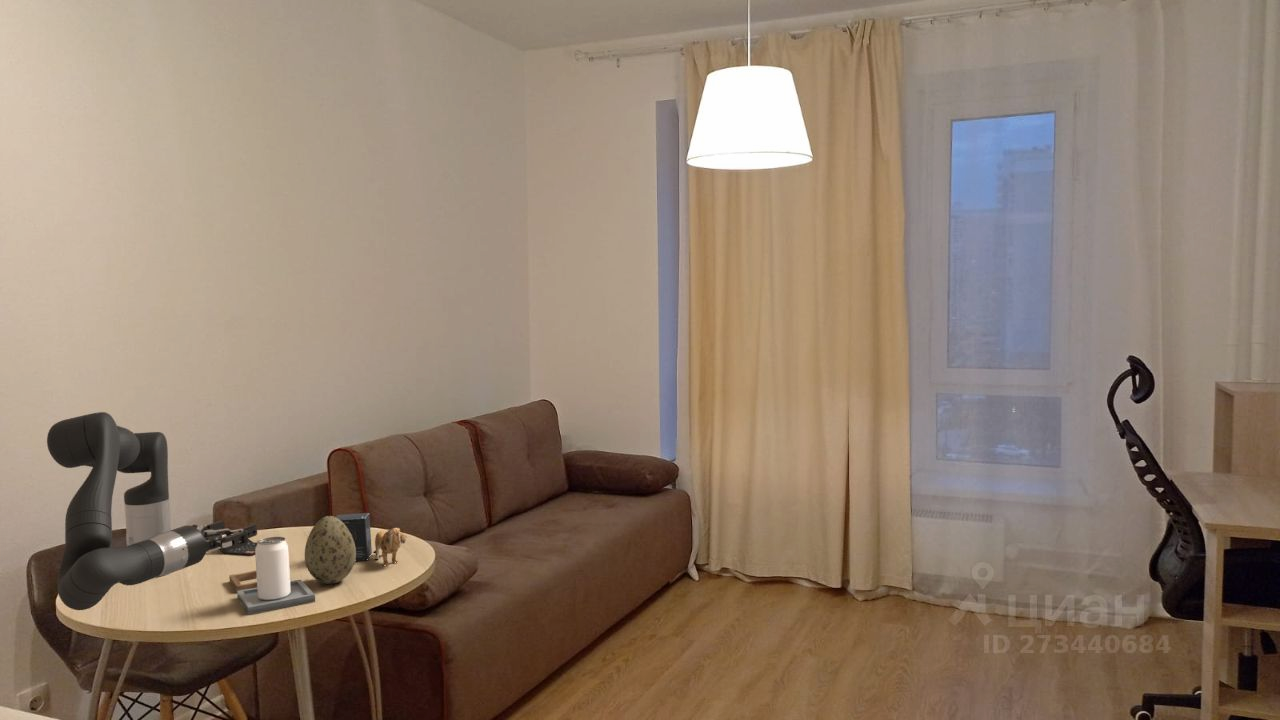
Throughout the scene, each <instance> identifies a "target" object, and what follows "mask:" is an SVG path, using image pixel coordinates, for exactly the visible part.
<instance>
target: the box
mask: <svg viewBox="0 0 1280 720" xmlns="http://www.w3.org/2000/svg"><path fill="white" fill-rule="evenodd" d="M335 517H336V518H338V519H339V520H341V521H342V522H343V523H344V524H345V526H346V527H347V528H348V530H349V531H350V533H351V535H352V537H353V540H354V543H355V548H356V559H355V560H364V561H368V560H369V559H370V558H369V556H370V555H371V554H372V553H373V552H372V551H373V549H372V548H373V547H372V534H371V532H372V531H371V518H370V513H369V512H365V513H348V514H337V515H336V516H335ZM371 556H372V555H371ZM371 556H370V557H371ZM368 558H369V559H368ZM367 559H368V560H367Z"/></svg>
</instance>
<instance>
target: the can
mask: <svg viewBox="0 0 1280 720" xmlns="http://www.w3.org/2000/svg"><path fill="white" fill-rule="evenodd" d="M256 543H257V546H256V549H255V555H254V556H255V571H256V574H257V578H256V582H257V590H258V597H259V598H260V599H261V600H266V601H270V600H278V599H282V598H285V597H287V596H288V595H289V594H290V592H291V587H290V581H291V572H290V571H291V570H290V555H289V554H290V553H289V545H288V543H287V542H286V537H284V536H270V537H264V538H261V539H258V540H257V541H256Z"/></svg>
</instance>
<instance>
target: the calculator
mask: <svg viewBox="0 0 1280 720" xmlns="http://www.w3.org/2000/svg"><path fill="white" fill-rule="evenodd" d="M248 541H249V543H248V544H246V545H243V546H240V547H237V548H235V549H232V550H229V551H226V552H222V551H221V548H220V549H217V550H218V551H220V552H221V553H223V554H224V555H228V556H243V557H244V556H245V557H253V556H255V549H256V546H257V541H256V542H254V541H252V540H251V539H250V538H248Z"/></svg>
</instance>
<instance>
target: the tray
mask: <svg viewBox="0 0 1280 720" xmlns="http://www.w3.org/2000/svg"><path fill="white" fill-rule="evenodd" d="M290 587H291V592H290V594H289V595H288V596H287V597H285V598H282V599H278V600H270V601H266V600H261V599H260V598H259V597H258V590H257V587H256V588H251V589H246V590H240V591H237V592H236V594H237V596H236V597H237V600H238V601H239V602H240V603H241V606H242V607H243V609H244V610H245V611H246V613H247V615H248V616H250V615H255V614H259V613H265V612H270V611H275V610H279V609H280V610H281V609H286V608H290V607H296V606H299V605H300V606H301V605H305V604H310V603H311V604H312V603H315V602H316V594H315V593H314V592H313V591H312V590H311V589H310V588H309V587H308V585H306V584H305V583H304V581H302V579H296V580H290Z"/></svg>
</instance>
